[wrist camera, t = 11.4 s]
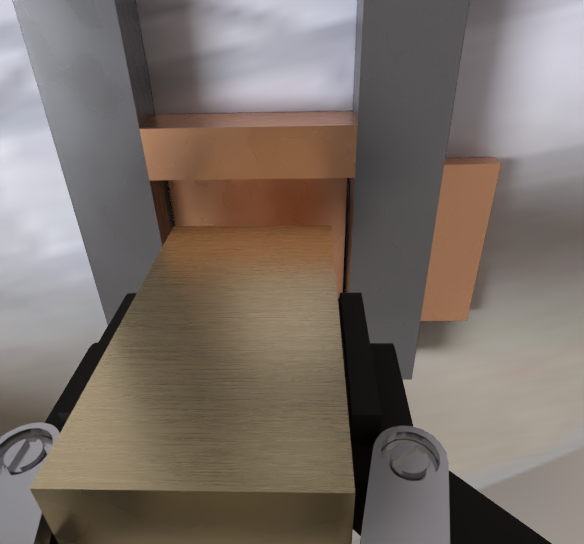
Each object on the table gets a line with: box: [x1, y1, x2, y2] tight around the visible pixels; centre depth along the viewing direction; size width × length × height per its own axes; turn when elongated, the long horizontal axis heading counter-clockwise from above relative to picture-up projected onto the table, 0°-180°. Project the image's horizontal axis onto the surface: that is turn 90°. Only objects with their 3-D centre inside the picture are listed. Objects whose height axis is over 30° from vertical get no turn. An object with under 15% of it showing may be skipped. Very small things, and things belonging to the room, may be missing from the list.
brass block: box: [30, 225, 355, 544], centre depth 11 cm, size 4×4×8 cm
